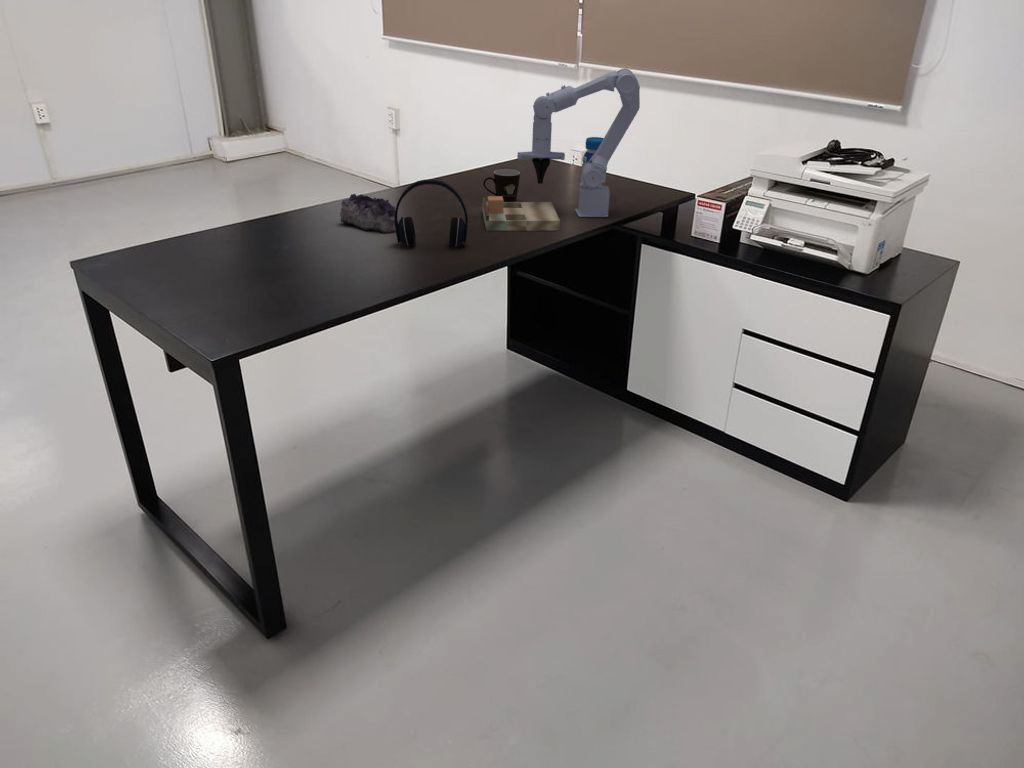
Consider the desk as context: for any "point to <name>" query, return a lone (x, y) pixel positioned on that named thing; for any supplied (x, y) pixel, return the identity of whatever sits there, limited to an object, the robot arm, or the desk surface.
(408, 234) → the headphones
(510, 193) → the coffee mug
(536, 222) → the trap board
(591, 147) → the beverage bottle
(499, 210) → the block
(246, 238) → the desk surface
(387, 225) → the geode
